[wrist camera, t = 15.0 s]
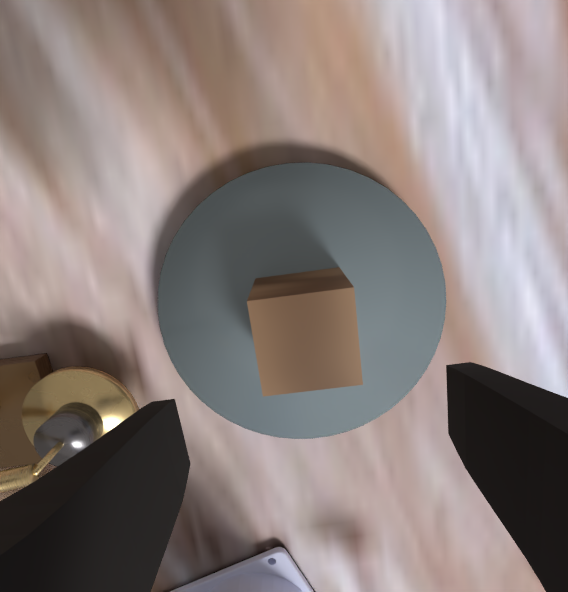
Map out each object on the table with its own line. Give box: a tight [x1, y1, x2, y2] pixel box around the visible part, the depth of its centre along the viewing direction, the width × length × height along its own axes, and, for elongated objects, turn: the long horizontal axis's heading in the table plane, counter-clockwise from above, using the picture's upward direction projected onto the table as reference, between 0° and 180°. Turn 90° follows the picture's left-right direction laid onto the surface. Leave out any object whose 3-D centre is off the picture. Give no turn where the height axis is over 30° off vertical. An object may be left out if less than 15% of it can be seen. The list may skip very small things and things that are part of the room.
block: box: [247, 267, 363, 397], centre depth 16 cm, size 4×4×4 cm
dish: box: [158, 163, 446, 439], centre depth 19 cm, size 14×14×1 cm
